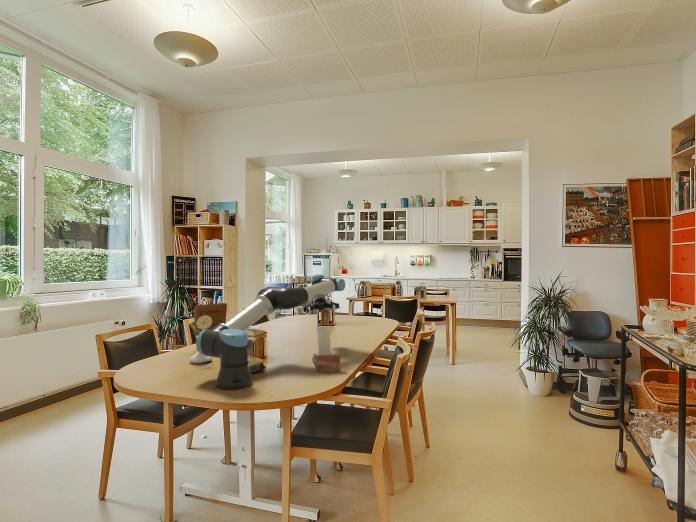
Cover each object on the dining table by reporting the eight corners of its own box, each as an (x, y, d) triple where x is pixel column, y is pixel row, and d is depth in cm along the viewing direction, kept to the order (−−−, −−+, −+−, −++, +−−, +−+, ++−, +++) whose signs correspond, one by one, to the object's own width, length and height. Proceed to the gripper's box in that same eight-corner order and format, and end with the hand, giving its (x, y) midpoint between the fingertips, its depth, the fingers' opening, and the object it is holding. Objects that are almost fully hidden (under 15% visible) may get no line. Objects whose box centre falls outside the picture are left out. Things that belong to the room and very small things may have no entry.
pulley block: (257, 347, 221) (266, 360, 193) (259, 358, 221) (268, 372, 193) (230, 354, 216) (235, 368, 188) (232, 364, 217) (237, 380, 188)
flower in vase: (184, 363, 213) (184, 316, 213) (199, 358, 224) (198, 313, 224) (205, 365, 209) (205, 317, 209) (219, 360, 220) (218, 314, 220)
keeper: (317, 357, 215) (317, 327, 215) (328, 356, 216) (328, 326, 216) (318, 360, 209) (318, 329, 209) (330, 359, 210) (330, 328, 210)
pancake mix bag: (228, 349, 245) (227, 303, 245) (194, 352, 239) (193, 304, 238) (227, 347, 252) (226, 302, 251) (194, 350, 245) (193, 303, 245)
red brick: (312, 360, 218) (312, 345, 218) (332, 359, 220) (332, 344, 220) (317, 372, 194) (317, 356, 194) (340, 371, 196) (340, 354, 196)
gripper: (341, 307, 243) (345, 315, 222) (299, 311, 240) (299, 319, 219) (340, 294, 242) (344, 301, 221) (298, 298, 239) (298, 306, 218)
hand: (322, 310), depth 220 cm, fingers open, 13 cm apart
